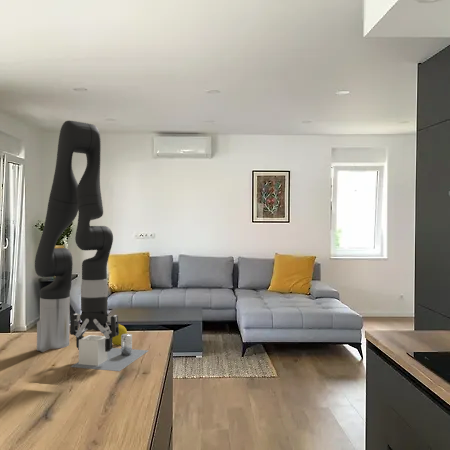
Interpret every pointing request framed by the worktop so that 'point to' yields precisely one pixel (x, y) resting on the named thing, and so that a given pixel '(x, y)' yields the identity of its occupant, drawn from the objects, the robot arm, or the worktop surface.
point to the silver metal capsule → (126, 344)
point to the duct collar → (92, 350)
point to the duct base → (115, 360)
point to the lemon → (117, 339)
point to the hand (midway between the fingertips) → (94, 350)
